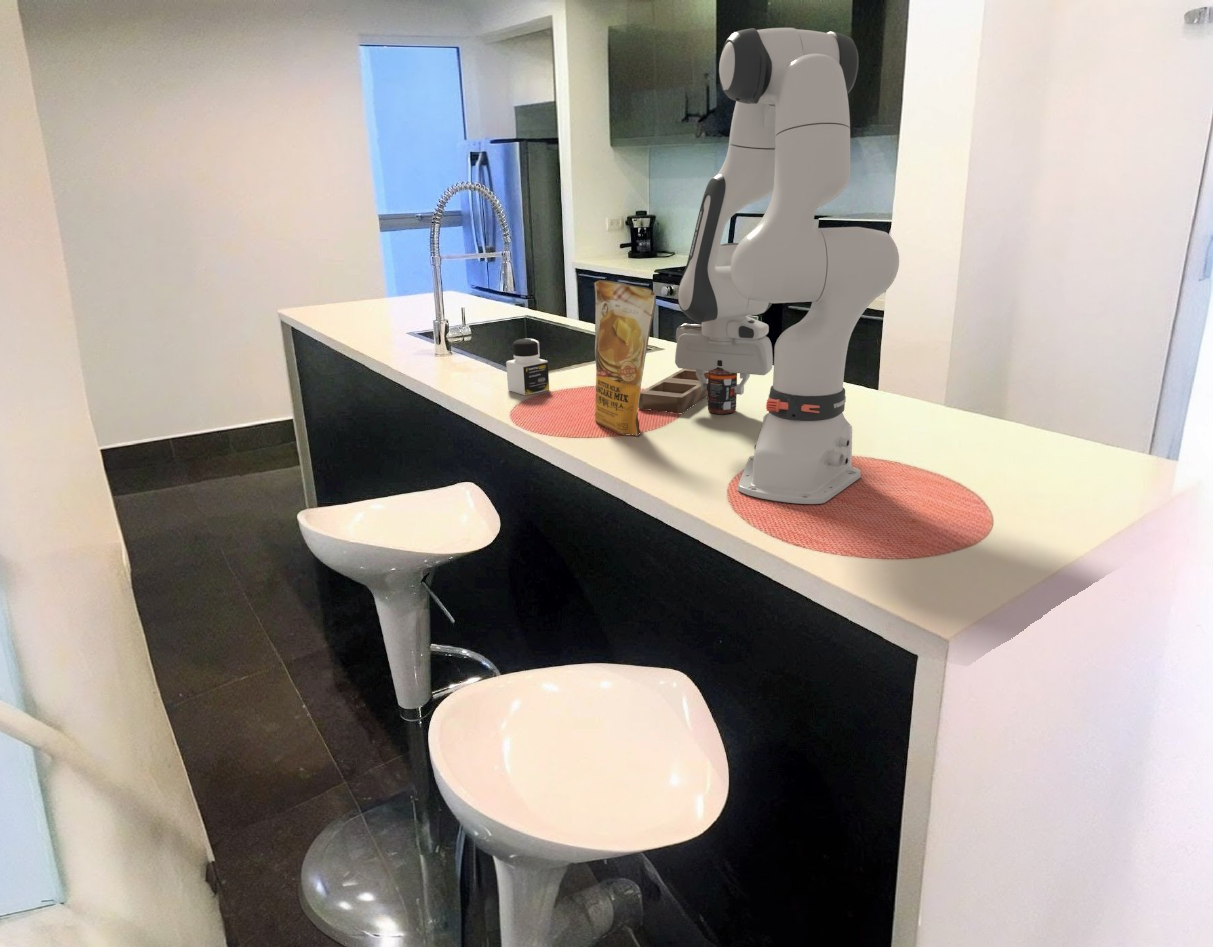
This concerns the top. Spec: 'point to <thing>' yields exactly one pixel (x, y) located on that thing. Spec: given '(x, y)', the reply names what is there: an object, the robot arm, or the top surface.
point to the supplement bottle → (721, 390)
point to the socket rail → (674, 392)
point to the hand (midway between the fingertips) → (722, 392)
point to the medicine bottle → (527, 368)
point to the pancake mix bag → (620, 352)
